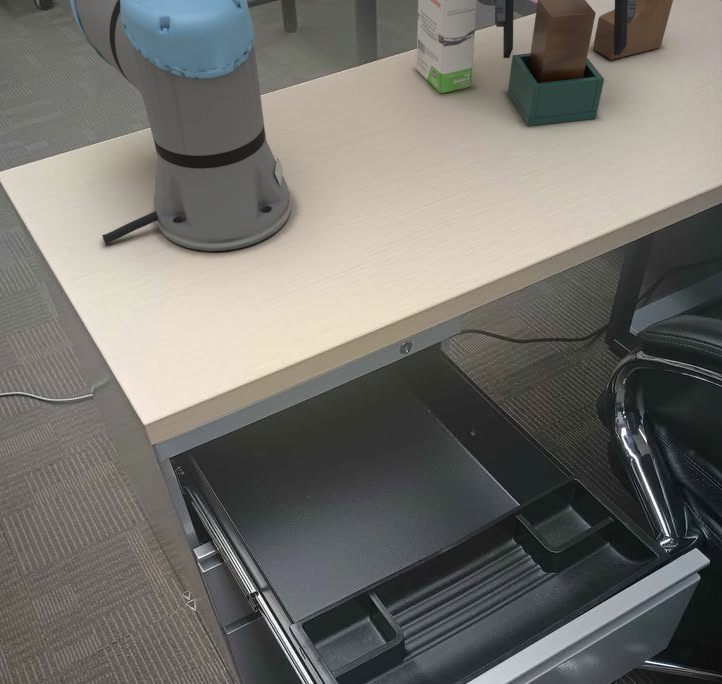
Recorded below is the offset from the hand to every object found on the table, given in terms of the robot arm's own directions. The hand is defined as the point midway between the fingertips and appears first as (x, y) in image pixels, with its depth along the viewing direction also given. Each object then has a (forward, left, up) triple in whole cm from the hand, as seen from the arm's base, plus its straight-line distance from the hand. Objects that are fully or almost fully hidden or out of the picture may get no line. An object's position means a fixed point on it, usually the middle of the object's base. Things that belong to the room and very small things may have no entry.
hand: (563, 52), depth 93 cm
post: (0, +2, -7) cm, 7 cm away
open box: (0, +2, -8) cm, 8 cm away
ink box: (-12, +13, -8) cm, 19 cm away
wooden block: (+16, +16, -8) cm, 24 cm away
